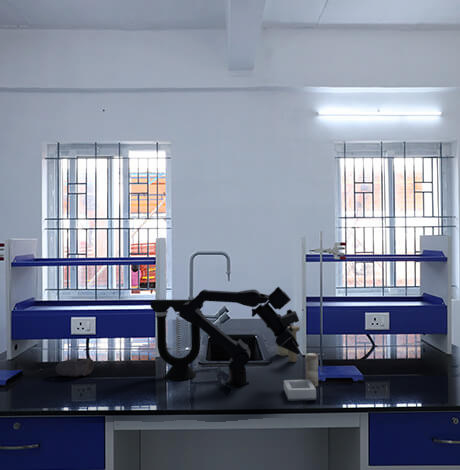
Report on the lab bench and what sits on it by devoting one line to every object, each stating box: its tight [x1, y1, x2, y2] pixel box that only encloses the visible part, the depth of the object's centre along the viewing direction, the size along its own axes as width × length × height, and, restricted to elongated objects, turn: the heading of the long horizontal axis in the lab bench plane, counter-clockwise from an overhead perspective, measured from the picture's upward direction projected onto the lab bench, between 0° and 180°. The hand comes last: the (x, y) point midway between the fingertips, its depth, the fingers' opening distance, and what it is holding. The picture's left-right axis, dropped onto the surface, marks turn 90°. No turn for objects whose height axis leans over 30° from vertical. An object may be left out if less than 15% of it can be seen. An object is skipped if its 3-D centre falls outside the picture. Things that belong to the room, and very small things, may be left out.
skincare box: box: [276, 344, 288, 357], centre depth 192 cm, size 6×4×12 cm
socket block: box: [283, 379, 317, 402], centre depth 144 cm, size 9×9×4 cm
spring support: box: [150, 299, 204, 381], centre depth 165 cm, size 21×12×30 cm, turn 83°
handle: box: [287, 325, 301, 363], centre depth 181 cm, size 5×6×15 cm
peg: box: [305, 352, 319, 388], centre depth 153 cm, size 4×4×11 cm
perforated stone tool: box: [55, 357, 94, 378], centre depth 167 cm, size 15×5×7 cm, turn 85°
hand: (298, 350), depth 153 cm, fingers open, 9 cm apart
